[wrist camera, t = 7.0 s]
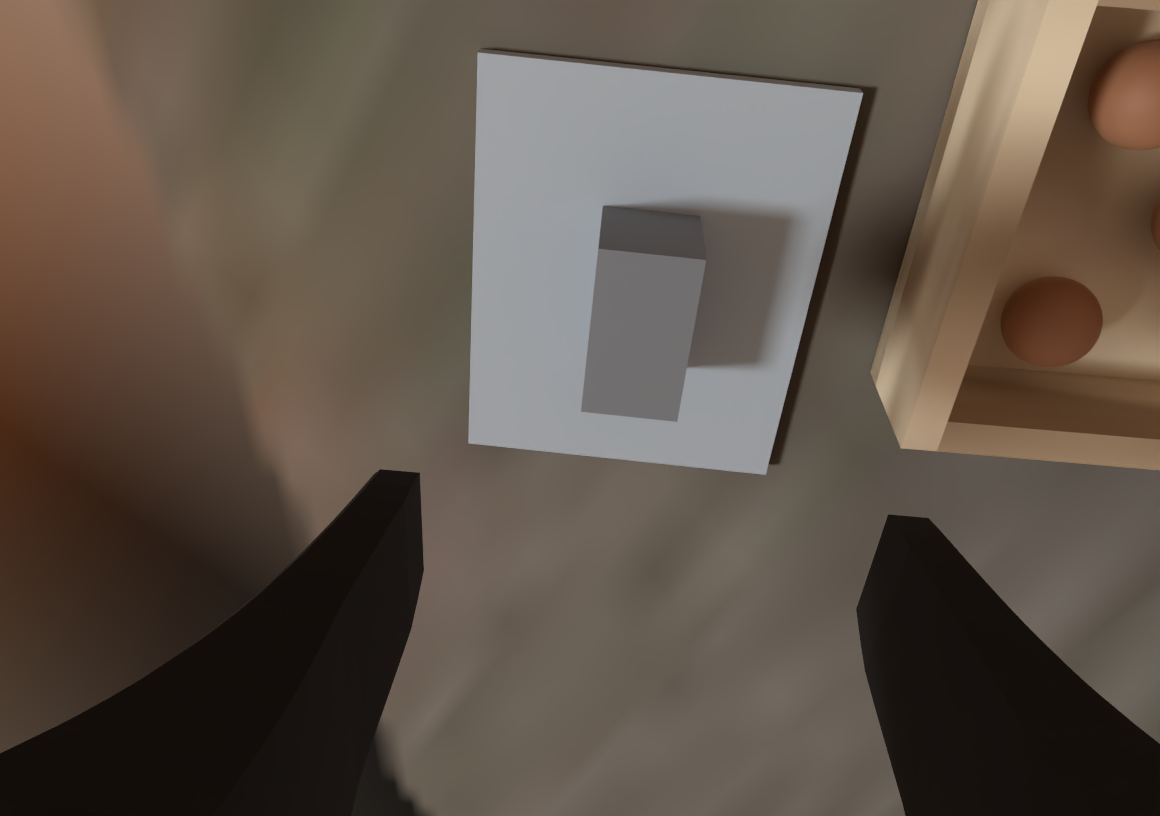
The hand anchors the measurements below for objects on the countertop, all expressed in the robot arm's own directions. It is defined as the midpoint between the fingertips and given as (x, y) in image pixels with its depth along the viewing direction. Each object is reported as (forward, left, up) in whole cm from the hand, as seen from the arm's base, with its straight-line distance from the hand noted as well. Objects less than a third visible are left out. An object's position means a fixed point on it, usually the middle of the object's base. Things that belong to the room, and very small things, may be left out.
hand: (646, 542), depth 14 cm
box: (+3, -10, -9) cm, 14 cm away
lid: (0, 0, -10) cm, 10 cm away
